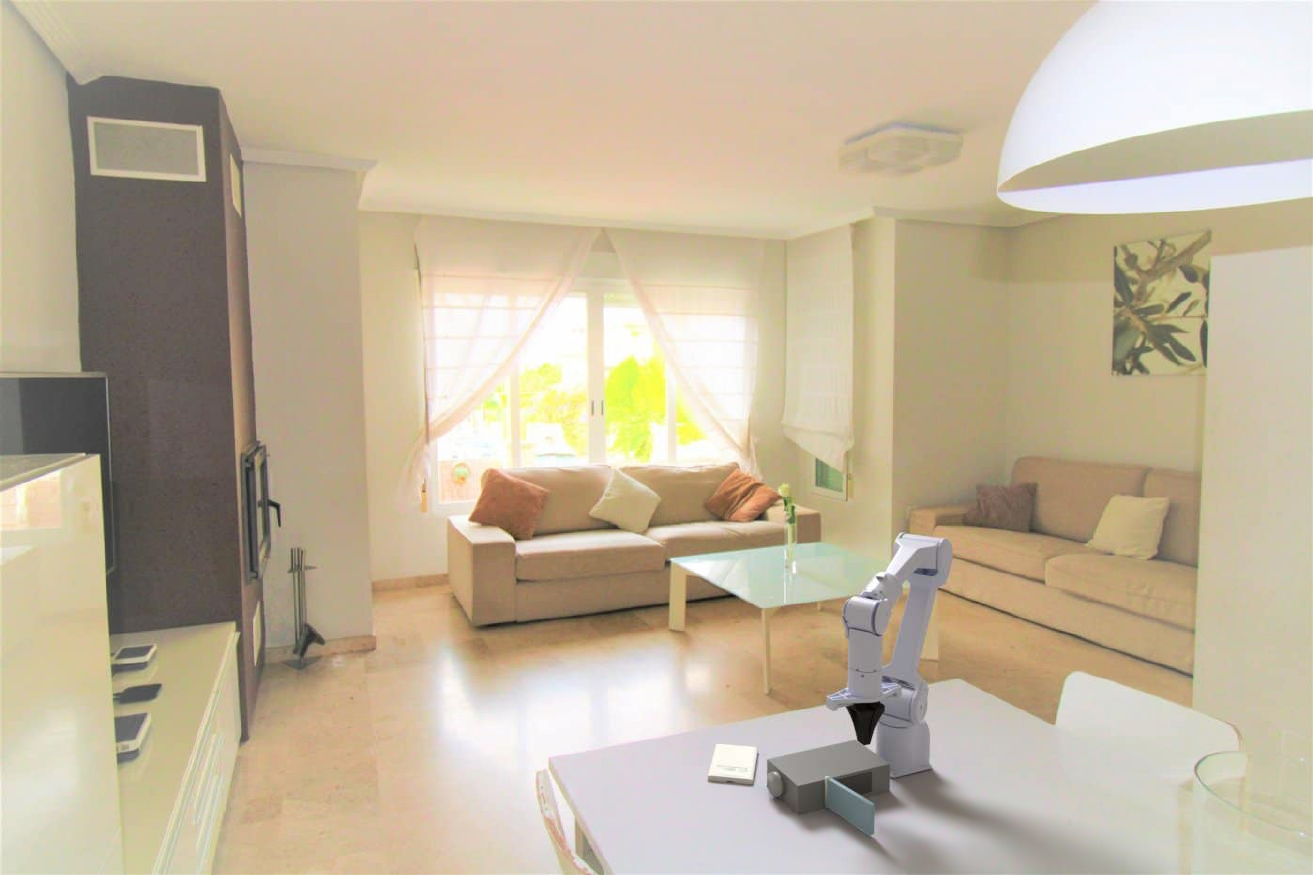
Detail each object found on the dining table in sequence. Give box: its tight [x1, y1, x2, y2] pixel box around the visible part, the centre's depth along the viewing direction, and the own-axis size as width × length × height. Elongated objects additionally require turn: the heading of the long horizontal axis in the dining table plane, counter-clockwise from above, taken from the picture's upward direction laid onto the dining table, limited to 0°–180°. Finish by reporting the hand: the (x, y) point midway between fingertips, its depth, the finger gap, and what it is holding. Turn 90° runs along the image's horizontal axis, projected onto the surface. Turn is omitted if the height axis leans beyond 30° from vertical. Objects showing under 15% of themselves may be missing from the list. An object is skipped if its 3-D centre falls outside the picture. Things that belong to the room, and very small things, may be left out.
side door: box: [825, 776, 876, 836], centre depth 130 cm, size 10×1×5 cm, turn 32°
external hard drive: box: [707, 743, 759, 785], centre depth 149 cm, size 2×8×12 cm
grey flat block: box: [766, 739, 891, 815], centre depth 140 cm, size 20×10×5 cm, turn 113°
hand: (863, 742), depth 138 cm, fingers closed
